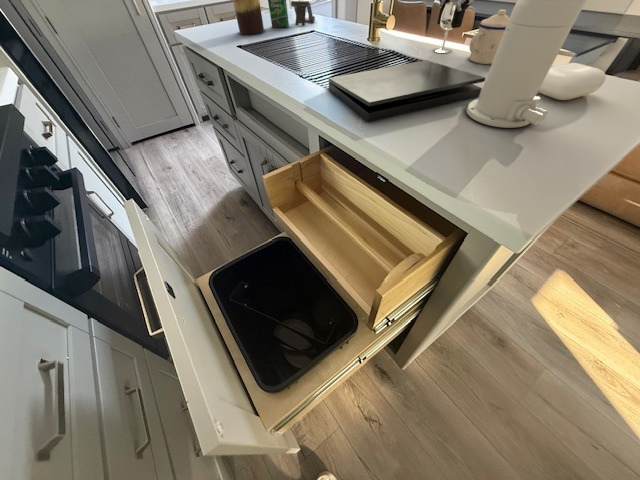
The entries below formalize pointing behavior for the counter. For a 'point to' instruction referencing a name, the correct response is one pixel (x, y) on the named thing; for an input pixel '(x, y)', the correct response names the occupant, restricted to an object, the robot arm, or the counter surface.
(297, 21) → the tablet stand
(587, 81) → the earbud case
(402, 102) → the laptop
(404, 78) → the laptop screen
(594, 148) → the counter surface
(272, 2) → the coffee box
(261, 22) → the vase
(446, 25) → the wineglass
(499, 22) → the teacup with lid
